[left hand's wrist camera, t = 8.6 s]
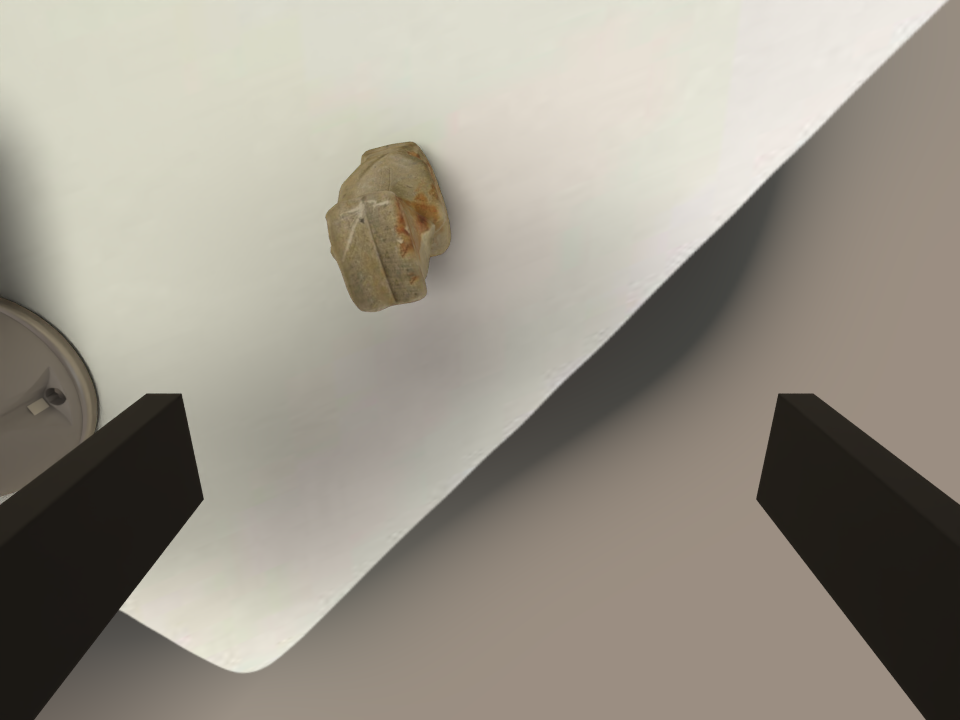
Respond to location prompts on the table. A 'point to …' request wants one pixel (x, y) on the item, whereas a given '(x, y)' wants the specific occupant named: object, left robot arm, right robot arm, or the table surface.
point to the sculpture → (388, 227)
